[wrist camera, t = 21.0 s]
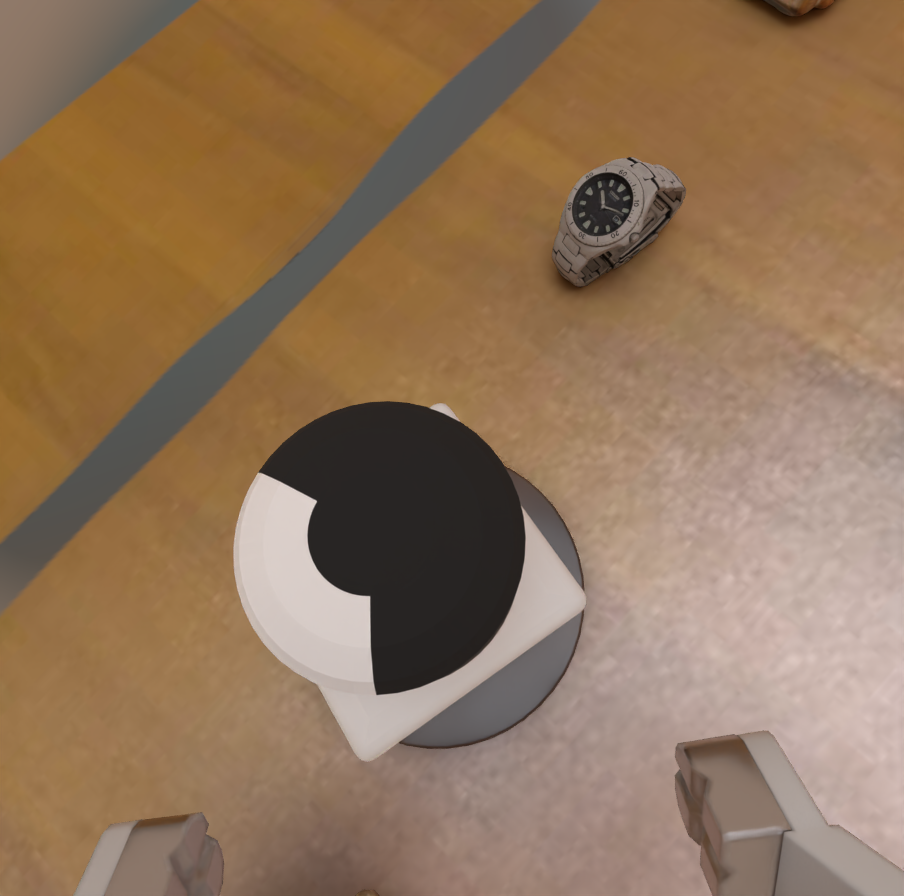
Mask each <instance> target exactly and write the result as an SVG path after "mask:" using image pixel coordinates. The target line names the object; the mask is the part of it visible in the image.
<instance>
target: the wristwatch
mask: <svg viewBox="0 0 904 896" xmlns="http://www.w3.org/2000/svg"><path fill="white" fill-rule="evenodd" d="M685 195H686V188H685V187H684V186H683V184H682V182H681V180H680V178H679V177H678V176H677V175H676V174H675V173H674V172H673V171H671V170H669V169H666V168H665V167H663V166H661V165H658V164H657V165H651V164H648V163H642V162H641V161H640V160H638V159H636V158H633V157H629V158H622V159H617V160H614V161H612V162H610V163H608V164H605V165H602V166H600V167H598V168H596V169H594V170H592V171H590V172H588V173H587V174H585V175H584V176H583V177H582V178H581V179H580V180H579V181H578V182H577V183H576V185H575V186H574V187H573V189H572V190H571V192H570V195H569V197H568V200H567V202H566V204H565V207H564V210H563V213H562V216H561V220H560V227H559V232H558V234H557V236H556V239H555V242H554V246H553V251H552V259H553V261H554V263H555V265H556V267H557V269H558V271H559V273H560V274H561V275H562V276H563V277H564V278H565V279H567V280H569V281H570V282H571V283H573V284H574V285H576V286H578V287H583V286H587V285H588V284H590V283H591V282H592V281H594V280H596V279H597V278H599V277H600V276H601V275H603V274H604V273H608V272H609V271H610V270H611V269H615V268H618V267H619V266H620V265H622V264H625V263H626V262H627V261H629V260H630V259H632V258H633V256H634V255H636V254H637V253H638V252H639V251H640V250H642V249H643V248H644V247H646V246H647V245H648V244H649V243H652V242H653V241H654V240H655V239H656V238H657V237H658V232H660V231H661V230H662V229H663V228H664V227H665V226H666V224H667V223H668V222H669V221H670V220H671V218H672V217H673V216H674V215H675V213H676V212H677V210H678V209H679V208H680V206H681V204H682V203H683V200H684V198H685Z"/></svg>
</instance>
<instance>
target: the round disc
mask: <svg viewBox="0 0 904 896" xmlns="http://www.w3.org/2000/svg"><path fill="white" fill-rule="evenodd" d="M504 467H505V466H504ZM505 468H506V470H507V472H508V473H509V475H510V477H511V479H512V481H513V484H514V486H515V489H516V491H517V493H518V496H519V500H520V504H521V506H522V507H523V509H524V510H525V511H526V513H527V514H528V515H529V517H530V518H531V520H532V521H533V522H534V524H535V525H536V526H537V528H538V529H539V531H540V532H541V533H542V535H543V536H544V537H545V539H546V540H547V542H548V543H549V544H550V546H551V547H552V548H553V550H554V551H555V553H556V554H557V555H558V557H559V558H560V559H561V561H562V562H563V564H564V565H565V566H566V568H567V569H568V570H569V572H570V573H571V575H572V576H573V577H574V579H575V580H576V581H577V583H578V584H579V585H580V587H581V588H582V590H583V591H584V581H583V573H582V569H581V564H580V559H579V556H578V553H577V550H576V547H575V544H574V541H573V539H572V537H571V535H570V533H569V531H568V529H567V527H566V524H565V523H564V521H563V520H562V518H561V517H560V515H559V514H558V512H557V511H556V509H555V508H554V506H553V505H552V504H551V503H550V502H549V501H548V499H547V498H546V497H545V496H544V495H543V494H542V493H541V492H540V491H539V490H538V489H537V488H536V487H535V486H534V485H532V484H531V483H530V482H529V481H528V480H526V479H525V478H523V477H522V476H520V475H519V474H518V473H516V472H515V471H513V470H511V469H509V468H507V467H505ZM583 617H584V609H583V610H582V611H581V612H580V613H579V614H577V615H576V616H575V617H573V618H572V619H570V620H569V621H568V622H566V623H565V624H563V625H562V626H561V627H559V628H558V629H556V630H555V631H554V632H552V633H551V634H549V635H548V636H547V637H545V638H544V639H542V640H541V641H540V642H538V643H537V644H535V645H534V646H533V647H531V648H530V649H528V650H527V651H526V652H524V653H523V654H521V655H520V656H519V657H517V658H516V659H514V660H513V661H512V662H510V663H509V664H507V665H506V666H505V667H503V668H502V669H501V670H499V671H498V672H496V673H495V674H494V675H492V676H491V677H489V678H488V679H487V680H485V681H484V682H482V683H481V684H480V685H478V686H477V687H475V688H474V689H473V690H471V691H470V692H468V693H467V694H466V695H464V696H463V697H461V698H460V699H459V700H457V701H456V702H454V703H453V704H452V705H450V706H449V707H447V708H446V709H445V710H443V711H442V712H440V713H439V714H438V715H436V716H435V717H433V718H432V719H431V720H429V721H428V722H426V723H425V724H424V725H422V726H421V727H420V728H418V729H417V730H415V731H414V732H413V733H411V734H410V735H408V736H407V737H406V738H404V739H403V740H401V741H400V742H399V743H400V744H404V745H407V746H413V747H420V748H427V749H448V748H455V747H462V746H469V745H472V744H475V743H479V742H482V741H485V740H489V739H491V738H493V737H495V736H497V735H499V734H502V733H504V732H506V731H508V730H509V729H511V728H512V727H514V726H515V725H517V724H519V723H520V722H522V721H523V720H525V719H526V718H527V717H528V716H529V715H530V714H532V713H533V712H534V711H535V710H536V709H537V708H538V707H540V706H541V704H542V703H543V702H544V701H545V700H546V699H547V698H548V696H549V695H550V694H551V693H552V692H553V691H554V689H555V688H556V686H557V685H558V683H559V682H560V680H561V679H562V677H563V676H564V674H565V672H566V670H567V668H568V666H569V664H570V662H571V660H572V658H573V655H574V653H575V649H576V646H577V643H578V640H579V637H580V633H581V627H582V622H583Z"/></svg>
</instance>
